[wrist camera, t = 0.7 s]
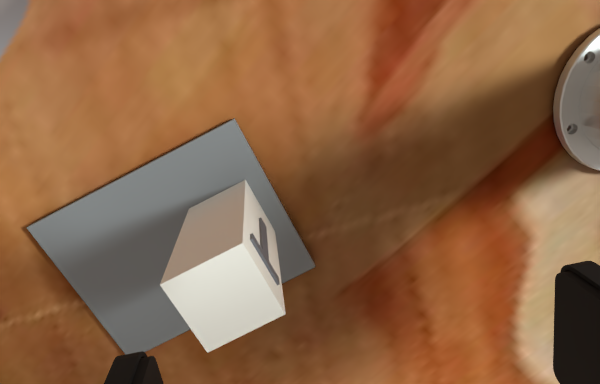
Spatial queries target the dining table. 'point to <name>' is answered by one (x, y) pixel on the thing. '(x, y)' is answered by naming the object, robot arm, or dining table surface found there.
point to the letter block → (225, 268)
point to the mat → (155, 234)
